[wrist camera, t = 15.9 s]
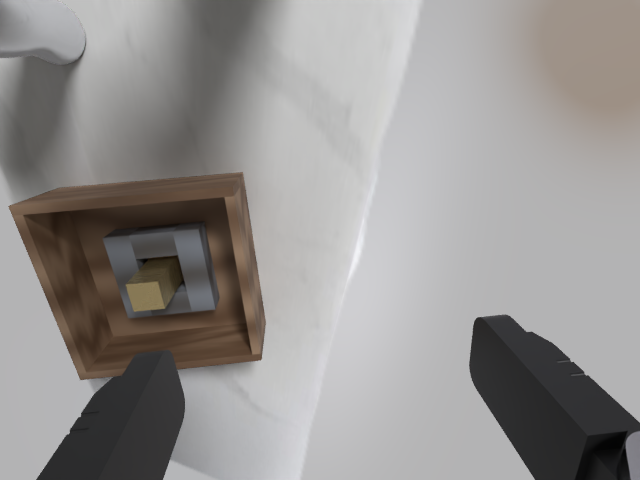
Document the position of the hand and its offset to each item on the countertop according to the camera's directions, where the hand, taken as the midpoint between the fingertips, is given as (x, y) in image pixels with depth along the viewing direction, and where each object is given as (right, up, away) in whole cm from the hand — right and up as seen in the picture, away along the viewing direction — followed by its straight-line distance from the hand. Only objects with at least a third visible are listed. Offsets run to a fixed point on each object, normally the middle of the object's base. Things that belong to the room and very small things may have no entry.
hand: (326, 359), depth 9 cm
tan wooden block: (-20, 0, +36) cm, 41 cm away
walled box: (-20, 0, +37) cm, 42 cm away
